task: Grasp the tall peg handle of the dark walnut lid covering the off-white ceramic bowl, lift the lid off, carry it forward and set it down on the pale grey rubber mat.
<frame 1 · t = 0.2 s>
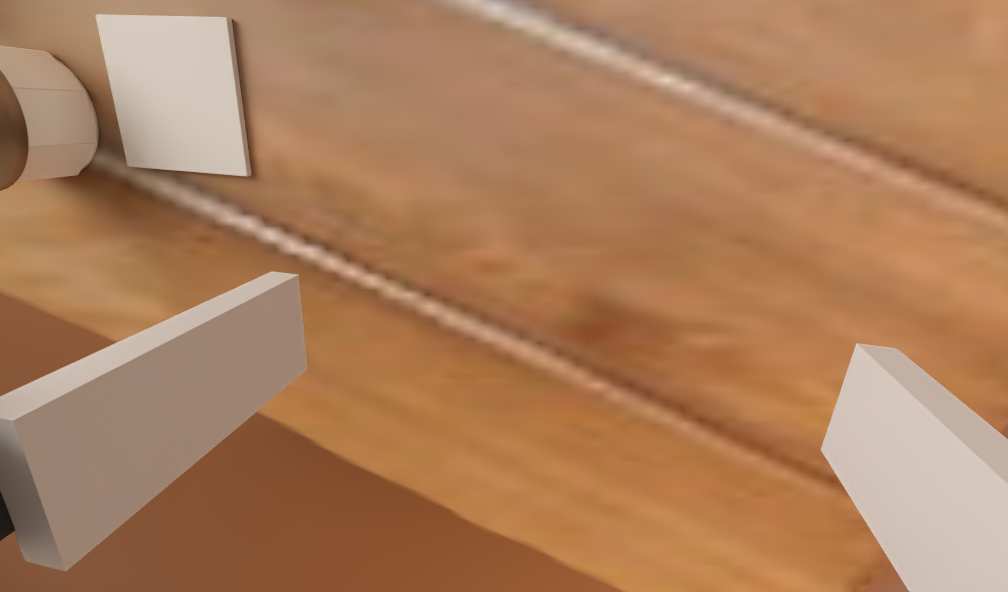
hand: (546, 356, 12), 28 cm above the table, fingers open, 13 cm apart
mat: (178, 97, 42), on the table
bowl: (48, 114, 45), on the table
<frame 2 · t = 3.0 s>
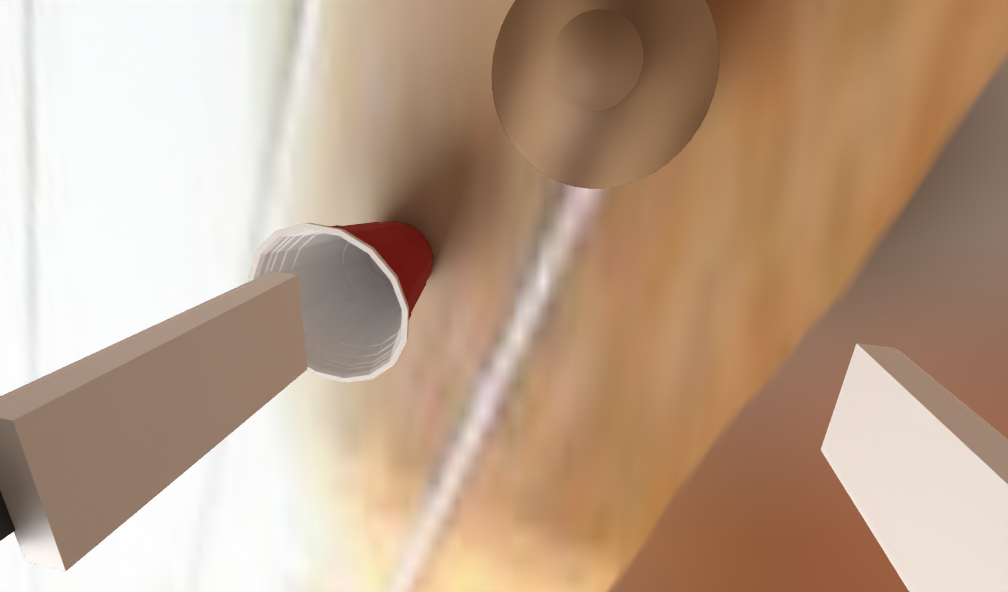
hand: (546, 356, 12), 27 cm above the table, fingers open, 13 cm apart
plastic cup: (401, 257, 42), on the table
lid: (600, 77, 28), point 6 cm above the table, touching bowl
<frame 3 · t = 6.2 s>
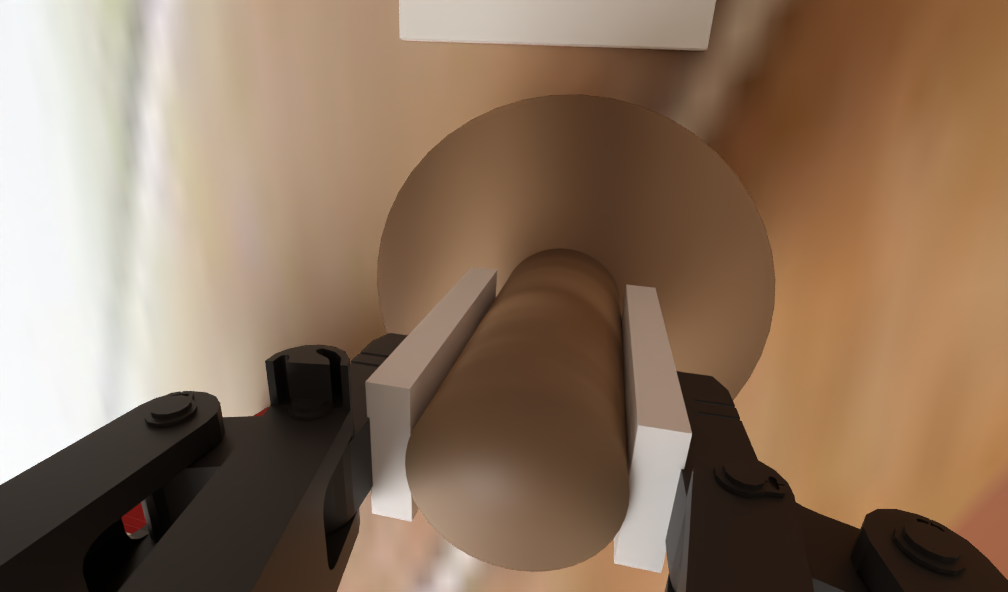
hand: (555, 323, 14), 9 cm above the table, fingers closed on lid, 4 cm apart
plastic cup: (303, 443, 30), on the table
lid: (563, 292, 16), point 6 cm above the table, touching bowl, gripper
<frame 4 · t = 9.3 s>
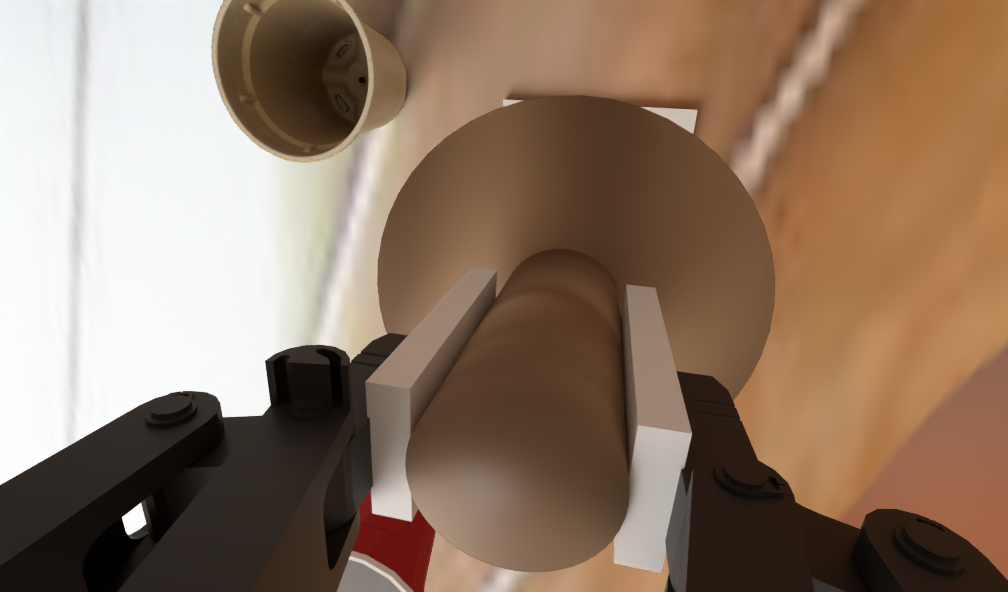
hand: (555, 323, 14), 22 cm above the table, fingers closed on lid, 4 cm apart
flower pot: (366, 80, 34), on the table
plastic cup: (412, 489, 46), on the table
mat: (587, 199, 34), on the table
lid: (563, 293, 16), point 19 cm above the table, touching gripper
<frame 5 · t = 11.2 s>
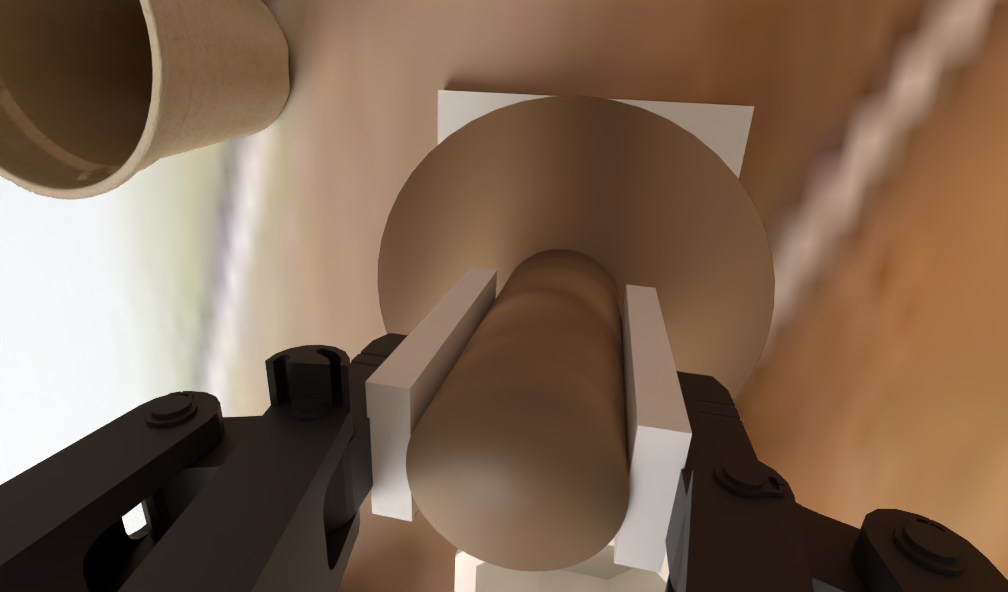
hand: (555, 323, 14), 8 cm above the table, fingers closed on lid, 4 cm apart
flower pot: (232, 61, 22), on the table
mat: (573, 245, 22), on the table
bowl: (584, 505, 26), on the table
lid: (563, 293, 16), point 6 cm above the table, touching gripper
when the fingers open (5 cm above the table, at t = 12.8 s): lid drops 2 cm, resting on mat.
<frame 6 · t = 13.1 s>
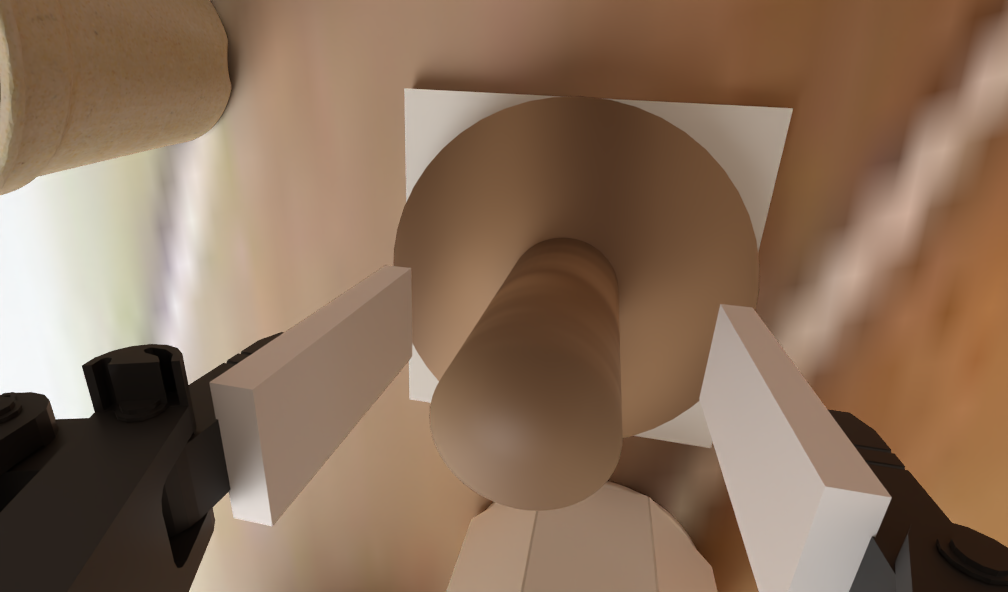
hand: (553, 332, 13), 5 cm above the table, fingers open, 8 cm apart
flower pot: (164, 54, 19), on the table
mat: (568, 274, 18), on the table
bowl: (582, 569, 23), on the table
lid: (566, 279, 18), point 1 cm above the table, touching mat
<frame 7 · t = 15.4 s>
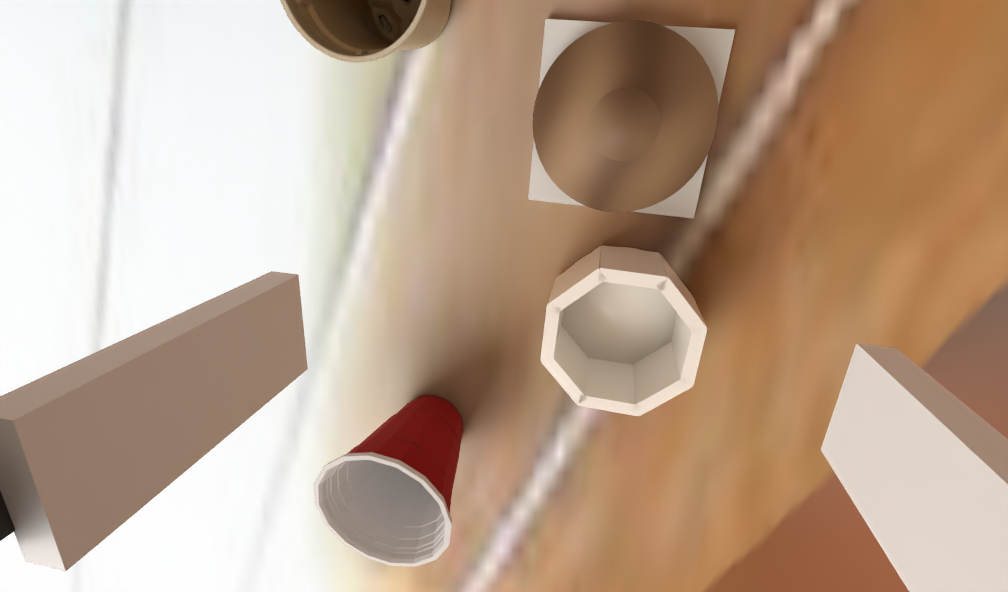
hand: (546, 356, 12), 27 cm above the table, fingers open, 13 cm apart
flower pot: (409, 0, 35), on the table
plastic cup: (434, 421, 47), on the table
mat: (622, 122, 35), on the table
bowl: (618, 310, 39), on the table
lid: (621, 122, 34), point 1 cm above the table, touching mat
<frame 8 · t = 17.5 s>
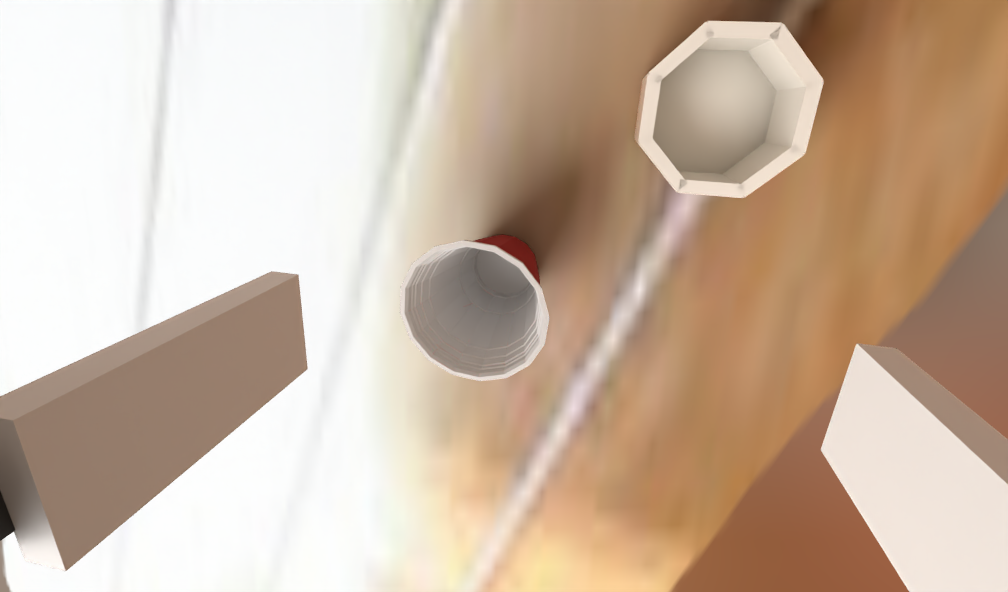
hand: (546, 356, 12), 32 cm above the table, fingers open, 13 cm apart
plastic cup: (505, 267, 45), on the table
bowl: (707, 113, 38), on the table
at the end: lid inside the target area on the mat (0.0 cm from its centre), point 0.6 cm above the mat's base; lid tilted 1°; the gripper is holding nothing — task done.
